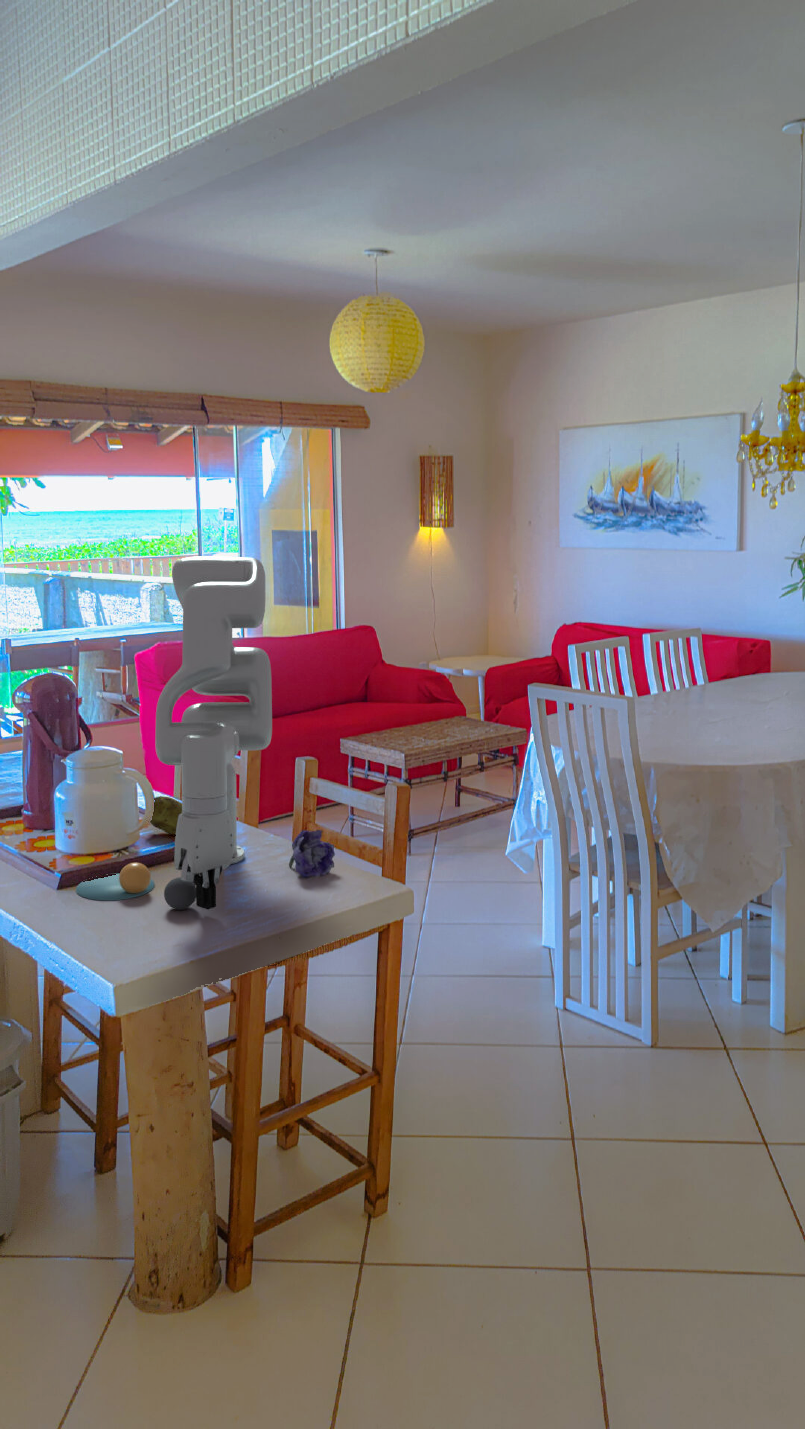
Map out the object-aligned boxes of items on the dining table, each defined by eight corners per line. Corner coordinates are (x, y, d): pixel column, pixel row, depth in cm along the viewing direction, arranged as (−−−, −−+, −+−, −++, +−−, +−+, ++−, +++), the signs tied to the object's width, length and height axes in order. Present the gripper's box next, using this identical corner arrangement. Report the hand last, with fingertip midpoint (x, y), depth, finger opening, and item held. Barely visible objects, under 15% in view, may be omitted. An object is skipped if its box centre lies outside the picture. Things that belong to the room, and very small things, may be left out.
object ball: (156, 883, 192) (143, 902, 195) (154, 859, 196) (141, 877, 199) (127, 878, 189) (114, 896, 192) (125, 853, 193) (113, 872, 196)
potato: (192, 842, 225) (191, 805, 223) (139, 835, 229) (138, 799, 227) (211, 831, 233) (211, 796, 231) (159, 825, 237) (158, 790, 235)
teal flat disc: (92, 873, 205) (92, 872, 205) (163, 876, 204) (163, 875, 204) (64, 898, 191) (64, 897, 191) (141, 902, 190) (141, 901, 190)
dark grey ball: (204, 889, 185) (197, 914, 188) (193, 870, 189) (186, 895, 192) (173, 890, 182) (166, 917, 184) (163, 871, 186) (156, 897, 188)
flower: (266, 838, 207) (309, 822, 203) (292, 845, 214) (333, 830, 210) (273, 884, 203) (316, 868, 199) (299, 890, 210) (341, 875, 207)
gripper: (219, 791, 189) (220, 890, 193) (156, 809, 177) (158, 914, 181) (251, 798, 185) (251, 899, 189) (188, 817, 173) (190, 924, 176)
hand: (206, 906), depth 185 cm, fingers closed
